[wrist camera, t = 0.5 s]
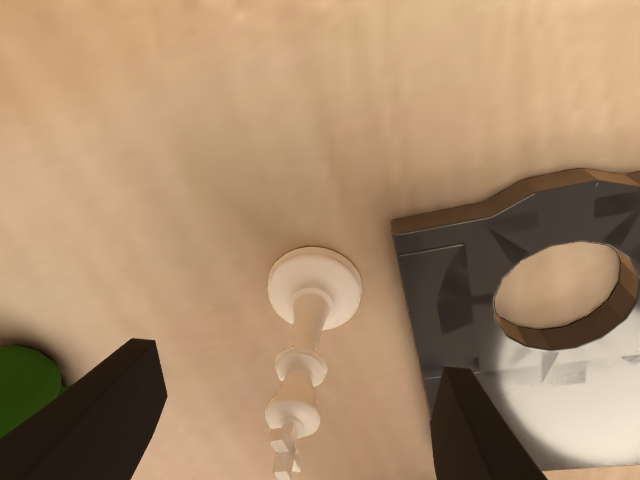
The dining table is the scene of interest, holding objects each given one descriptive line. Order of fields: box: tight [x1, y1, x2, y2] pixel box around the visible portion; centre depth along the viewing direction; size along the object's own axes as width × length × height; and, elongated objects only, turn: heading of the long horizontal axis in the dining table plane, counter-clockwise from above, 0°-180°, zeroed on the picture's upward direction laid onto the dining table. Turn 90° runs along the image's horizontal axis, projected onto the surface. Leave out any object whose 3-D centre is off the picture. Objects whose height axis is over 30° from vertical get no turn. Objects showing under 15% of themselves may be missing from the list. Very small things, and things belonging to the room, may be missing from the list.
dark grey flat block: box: [390, 168, 640, 471], centre depth 21 cm, size 19×15×2 cm
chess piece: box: [264, 247, 362, 480], centre depth 17 cm, size 5×5×10 cm
